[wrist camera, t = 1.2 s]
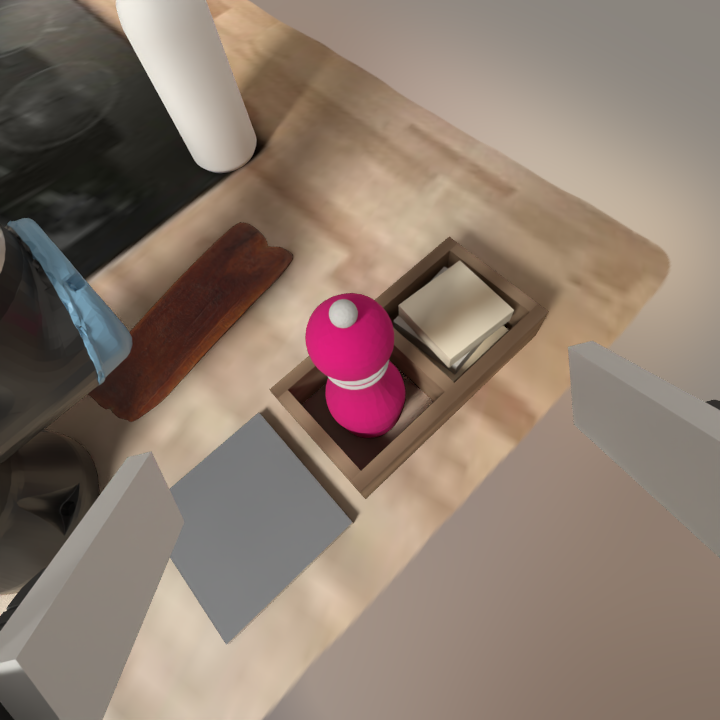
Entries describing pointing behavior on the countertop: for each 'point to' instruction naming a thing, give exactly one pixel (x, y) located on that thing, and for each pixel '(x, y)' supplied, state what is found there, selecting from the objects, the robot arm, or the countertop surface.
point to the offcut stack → (453, 320)
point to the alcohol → (191, 78)
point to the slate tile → (250, 525)
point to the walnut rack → (418, 367)
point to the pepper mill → (357, 363)
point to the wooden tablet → (191, 320)
